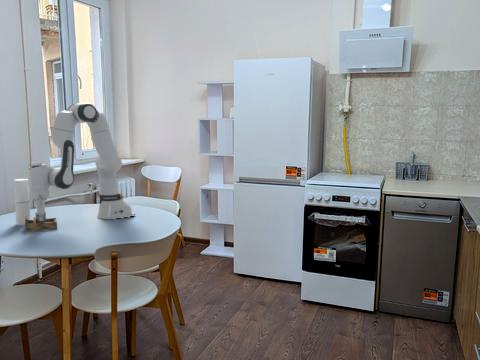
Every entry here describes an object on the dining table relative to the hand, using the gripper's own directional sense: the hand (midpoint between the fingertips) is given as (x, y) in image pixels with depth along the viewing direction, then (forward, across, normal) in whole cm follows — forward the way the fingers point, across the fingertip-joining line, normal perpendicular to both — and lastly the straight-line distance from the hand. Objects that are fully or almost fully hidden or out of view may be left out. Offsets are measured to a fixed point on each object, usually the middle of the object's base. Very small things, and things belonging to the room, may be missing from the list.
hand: (41, 219), depth 219 cm
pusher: (+4, 0, +3) cm, 5 cm away
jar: (+3, 0, 0) cm, 3 cm away
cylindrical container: (+5, +15, +9) cm, 18 cm away
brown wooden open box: (+5, 0, 0) cm, 5 cm away
